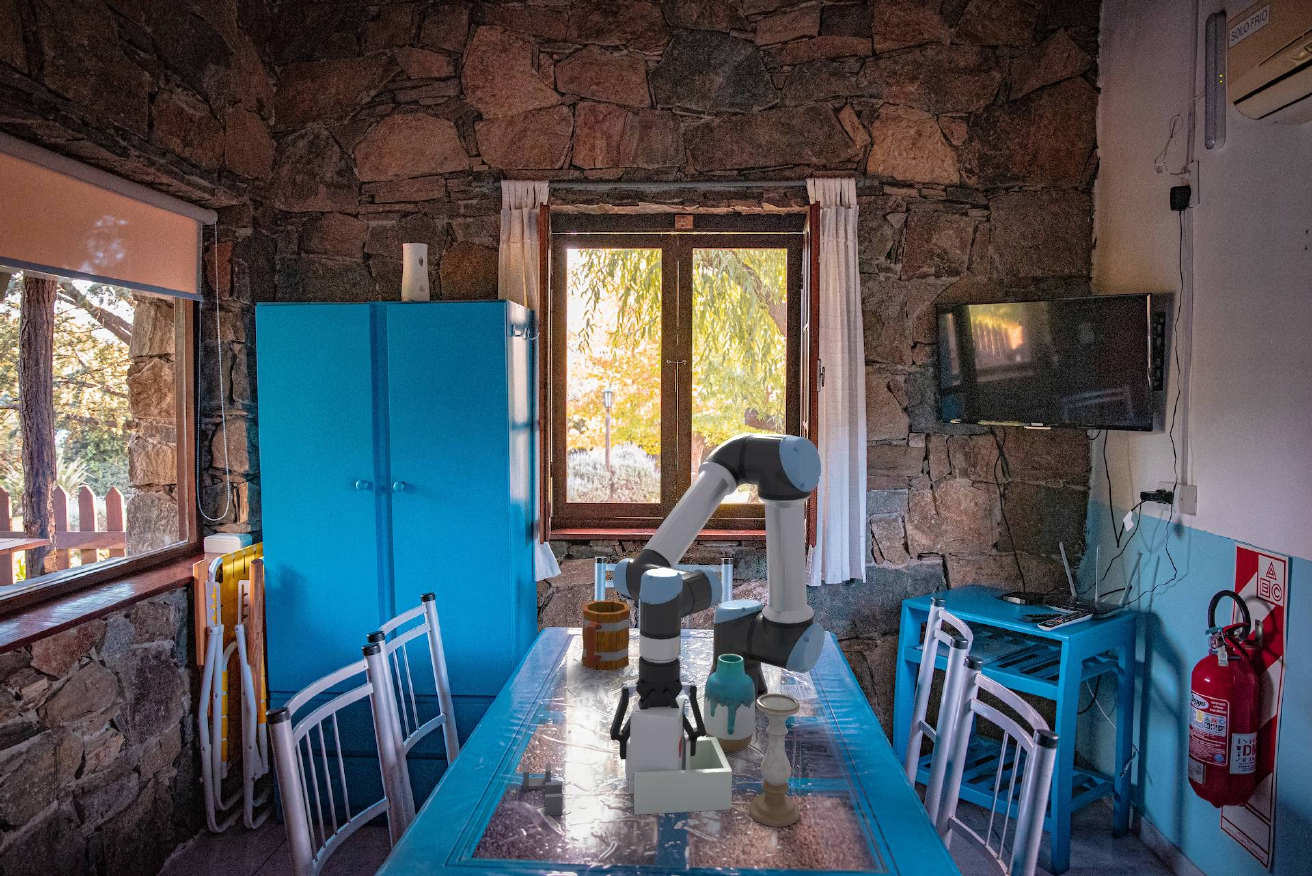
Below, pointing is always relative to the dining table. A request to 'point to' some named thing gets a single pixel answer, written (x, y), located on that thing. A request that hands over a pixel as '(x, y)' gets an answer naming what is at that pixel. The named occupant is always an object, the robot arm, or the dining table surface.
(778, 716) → the candle holder
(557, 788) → the clip
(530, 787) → the clip
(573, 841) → the dining table surface
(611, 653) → the mug
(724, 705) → the vase
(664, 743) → the supplement box
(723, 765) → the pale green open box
